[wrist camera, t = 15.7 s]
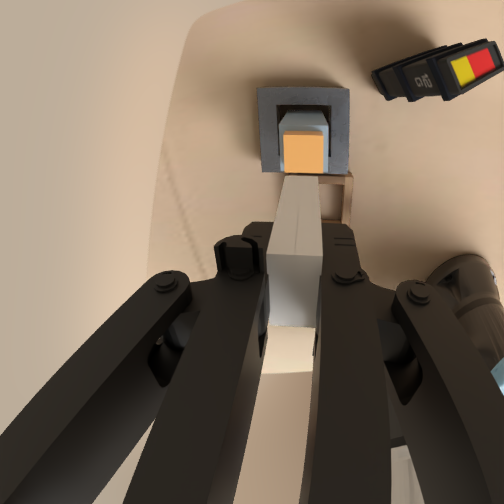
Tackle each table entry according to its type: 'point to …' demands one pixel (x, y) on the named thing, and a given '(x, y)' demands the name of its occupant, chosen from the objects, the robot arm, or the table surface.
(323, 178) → the brown square frame
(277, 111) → the port
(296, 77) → the table surface
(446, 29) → the table surface
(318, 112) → the plug
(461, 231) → the table surface
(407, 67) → the magazine
